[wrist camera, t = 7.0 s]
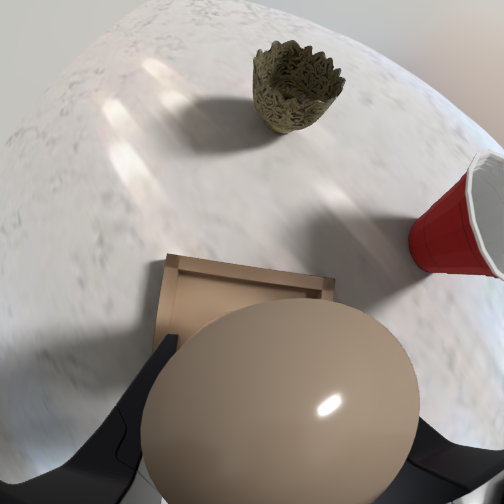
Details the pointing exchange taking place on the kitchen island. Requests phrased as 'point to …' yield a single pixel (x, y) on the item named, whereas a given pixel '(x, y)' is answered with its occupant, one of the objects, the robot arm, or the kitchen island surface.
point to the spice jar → (282, 408)
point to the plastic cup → (465, 224)
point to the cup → (293, 86)
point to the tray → (223, 292)
